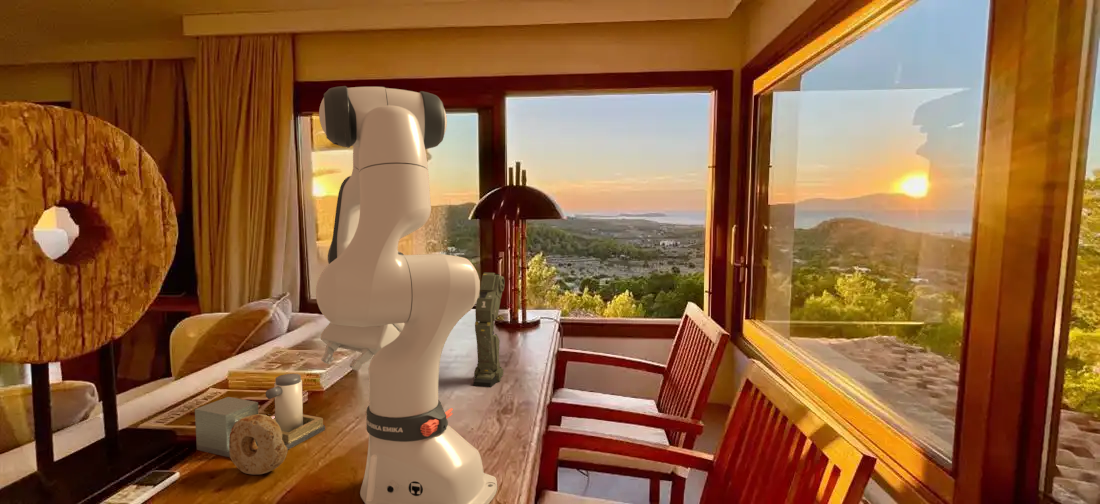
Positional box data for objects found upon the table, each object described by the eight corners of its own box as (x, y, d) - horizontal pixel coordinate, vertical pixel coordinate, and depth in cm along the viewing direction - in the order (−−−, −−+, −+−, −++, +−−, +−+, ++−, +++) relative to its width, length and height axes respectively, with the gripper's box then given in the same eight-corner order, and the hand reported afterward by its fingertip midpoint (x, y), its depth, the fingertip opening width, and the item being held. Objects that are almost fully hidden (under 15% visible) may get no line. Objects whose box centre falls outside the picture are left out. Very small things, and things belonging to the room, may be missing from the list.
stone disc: (224, 473, 94) (222, 417, 93) (241, 463, 98) (239, 410, 97) (274, 481, 91) (272, 424, 90) (290, 471, 95) (288, 416, 94)
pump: (308, 427, 111) (307, 375, 110) (280, 441, 104) (278, 385, 103) (289, 423, 113) (288, 372, 112) (260, 437, 106) (259, 382, 105)
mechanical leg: (490, 389, 135) (499, 270, 140) (463, 386, 137) (472, 269, 141) (505, 384, 149) (512, 276, 153) (480, 382, 150) (488, 275, 154)
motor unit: (325, 429, 112) (324, 392, 111) (259, 464, 97) (258, 421, 96) (267, 418, 118) (265, 383, 117) (196, 449, 103) (194, 409, 102)
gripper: (335, 302, 130) (300, 351, 122) (396, 311, 120) (361, 364, 112) (350, 317, 134) (317, 365, 126) (411, 327, 124) (378, 379, 116)
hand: (339, 365), depth 119 cm, fingers open, 8 cm apart
